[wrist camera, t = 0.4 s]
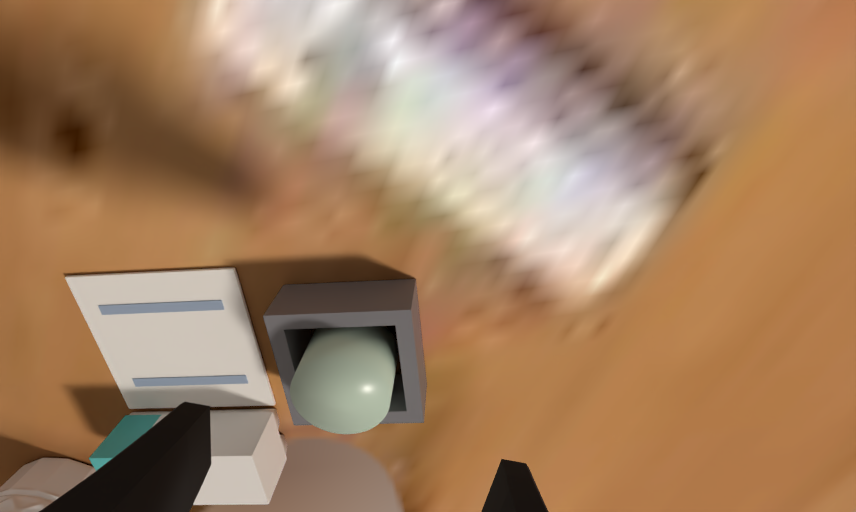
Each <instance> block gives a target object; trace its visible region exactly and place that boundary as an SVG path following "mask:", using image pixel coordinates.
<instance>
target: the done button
mask: <svg viewBox="0 0 856 512" xmlns="http://www.w3.org/2000/svg"><path fill="white" fill-rule="evenodd" d="M397 360H398V345H397V342H396V340H395V338H394V336H393V334H392V333H391V332H390V330H389V329H388V328H387V327H386V326H365V327H339V328H316V330H315V331H314V333H313V335H312V337H311V340H310V342H309V344H308V346H307V348H306V350H305V353H304V355H303V357H302V359H301V361H300V363H299V366H298V368H297V370H296V372H295V374H294V376H293V379H292V381H291V385H290V396H291V400H292V403H293V405H294V407H295V409H296V410H297V411H298V413H299V414H300V415H301V416H302V417H303V418H304V419H305V420H306V421H308V422H309V423H311V424H312V425H314V426H316V427H318V428H320V429H322V430H325V431H328V432H332V433H338V434H355V433H361V432H364V431H367V430H369V429H372V428H373V427H375V426H377V425H378V424H379V423H380V422H381V421H382V420H383V419H384V418H385V416H386V415H387V413H388V411H389V407H390V402H391V396H392V390H393V384H394V378H395V372H396V366H397Z"/></svg>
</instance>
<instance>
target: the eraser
mask: <svg viewBox="0 0 856 512" xmlns="http://www.w3.org/2000/svg"><path fill="white" fill-rule="evenodd" d="M170 412H171V411H152V412H132V413H130V414H129V415H125V416H124V418H123V419H122V420H121V421H120V422H119V423H118V425H117V426H116V427H115V428H114V429H113V430H112V432H111V433H110V434H109V435H108V436H107V438H106V439H105V440H104V441H103V442H102V443H101V445H100V446H99V447H98V448H97V449H96V450H95V452H94V453H93V454H92V455H91V456H90V458H89V460H90V461H91V463H92V465H93V467H94V468H95V470H96V471H97V470H98V469H99V468H100V467H102V466H103V465H104V464H106V463H107V462H108V461H110V460H111V459H112V458H114V457H115V456H116V455H118V454H119V453H120V452H121V451H123V450H124V449H125V448H127V447H128V446H129V445H130V444H132V443H133V442H134V441H135V440H137V439H138V438H139V437H140V436H142V435H143V434H144V433H146V432H147V431H148V430H149V429H150V428H152V427H153V426H154V425H155V424H157V423H158V422H159V421H160V420H162V419H163V418H164V417H165V416H166V415H168V414H169V413H170ZM210 427H211V466H210V468H209V471H208V473H207V475H206V477H205V480H204V482H203V484H202V486H201V489H200V491H199V493H198V495H197V497H196V499H195V501H194V503H193V505H255V504H257V505H258V504H260V505H261V504H269V503H270V501H271V498H272V495H273V493H274V490H275V487H276V485H277V483H278V480H279V477H280V475H281V472H282V470H283V467H284V465H285V462H286V459H287V457H286V452H287V441H286V440H285V437H284V435H280V434H279V431H278V428H279V417H278V414H277V410H276V409H235V410H210Z"/></svg>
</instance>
